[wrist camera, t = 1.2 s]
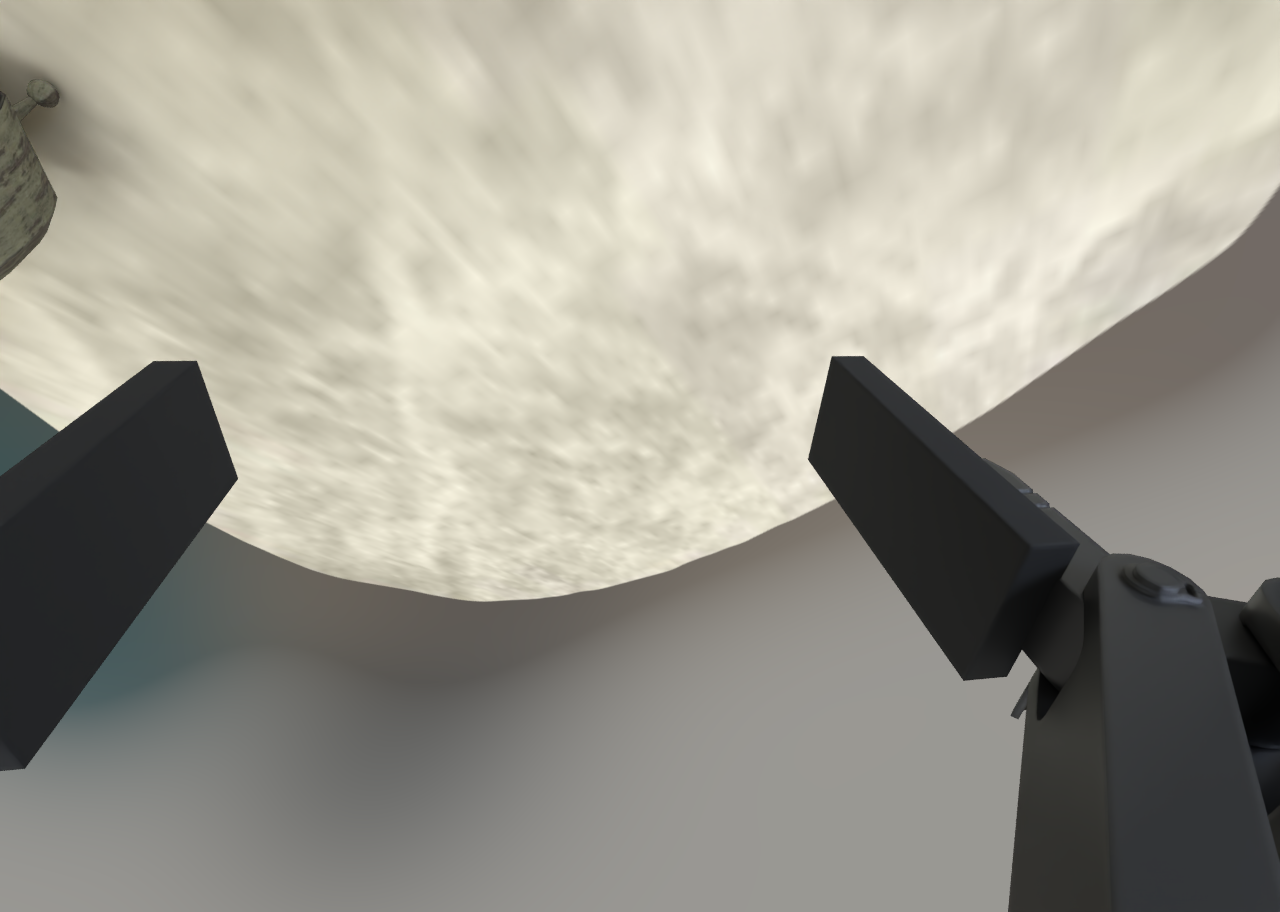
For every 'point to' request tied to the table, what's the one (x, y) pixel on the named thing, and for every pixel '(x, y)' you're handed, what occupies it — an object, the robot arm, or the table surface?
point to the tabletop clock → (22, 180)
